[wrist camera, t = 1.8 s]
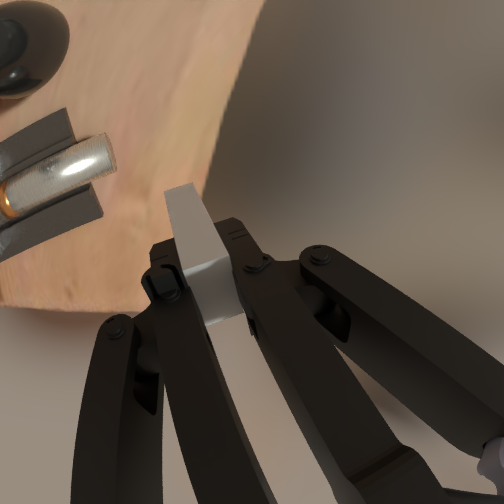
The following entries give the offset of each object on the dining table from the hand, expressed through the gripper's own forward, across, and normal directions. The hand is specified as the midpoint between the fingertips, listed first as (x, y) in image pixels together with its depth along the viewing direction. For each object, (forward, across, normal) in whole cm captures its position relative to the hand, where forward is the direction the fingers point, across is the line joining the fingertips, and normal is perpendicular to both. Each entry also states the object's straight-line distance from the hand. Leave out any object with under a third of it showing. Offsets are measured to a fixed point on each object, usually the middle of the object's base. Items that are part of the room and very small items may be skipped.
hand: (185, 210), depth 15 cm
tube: (+19, -14, 0) cm, 24 cm away
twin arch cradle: (+20, -22, 0) cm, 30 cm away
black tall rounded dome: (+20, -12, +15) cm, 28 cm away
